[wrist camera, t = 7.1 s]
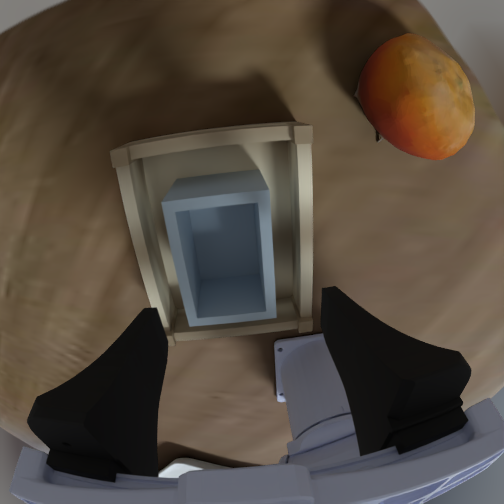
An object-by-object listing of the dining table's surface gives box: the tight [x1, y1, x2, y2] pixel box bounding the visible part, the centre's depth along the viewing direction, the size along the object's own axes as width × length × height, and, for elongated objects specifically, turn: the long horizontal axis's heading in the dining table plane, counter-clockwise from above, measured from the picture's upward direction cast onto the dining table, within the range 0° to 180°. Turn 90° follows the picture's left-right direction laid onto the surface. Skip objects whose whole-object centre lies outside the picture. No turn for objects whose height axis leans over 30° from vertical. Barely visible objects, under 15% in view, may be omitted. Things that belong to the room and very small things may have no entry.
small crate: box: [161, 169, 277, 327], centre depth 19 cm, size 8×5×5 cm
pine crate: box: [110, 121, 313, 346], centre depth 20 cm, size 14×11×4 cm
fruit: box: [353, 33, 475, 160], centre depth 16 cm, size 8×8×8 cm
